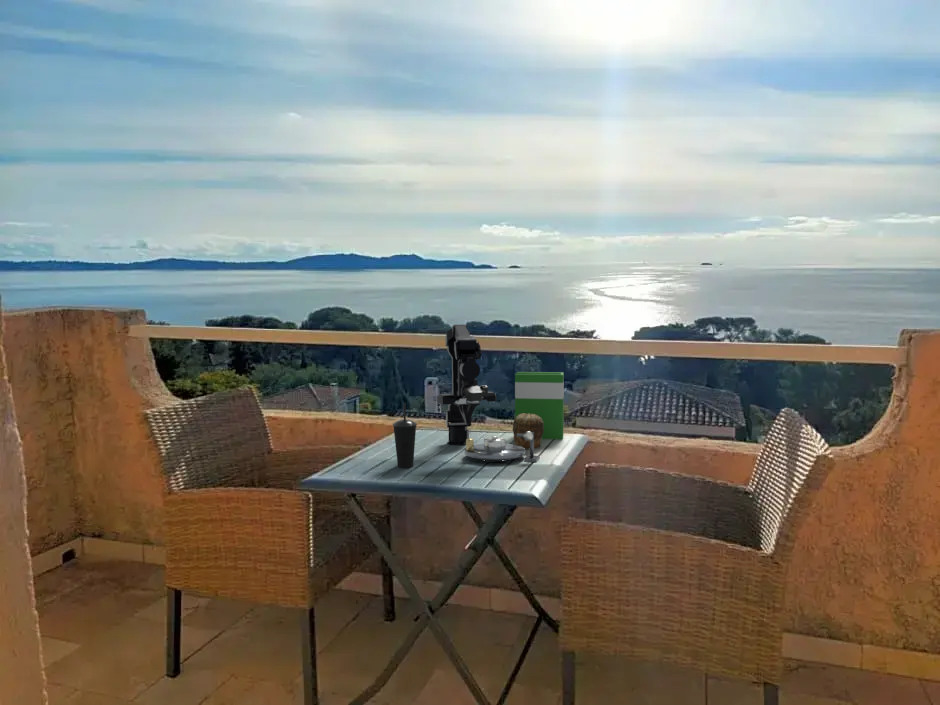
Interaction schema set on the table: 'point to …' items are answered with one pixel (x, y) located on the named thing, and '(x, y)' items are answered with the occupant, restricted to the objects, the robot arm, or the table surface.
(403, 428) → the drinking cup
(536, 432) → the shell
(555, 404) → the hardback book
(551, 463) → the table surface
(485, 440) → the cover
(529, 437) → the dial stand
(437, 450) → the table surface
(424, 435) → the table surface
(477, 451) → the platter
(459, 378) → the robot arm
